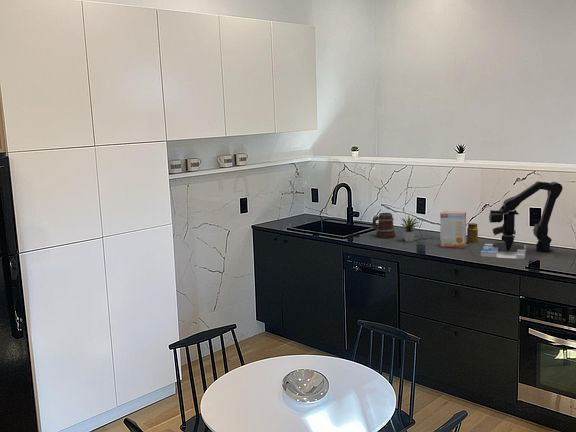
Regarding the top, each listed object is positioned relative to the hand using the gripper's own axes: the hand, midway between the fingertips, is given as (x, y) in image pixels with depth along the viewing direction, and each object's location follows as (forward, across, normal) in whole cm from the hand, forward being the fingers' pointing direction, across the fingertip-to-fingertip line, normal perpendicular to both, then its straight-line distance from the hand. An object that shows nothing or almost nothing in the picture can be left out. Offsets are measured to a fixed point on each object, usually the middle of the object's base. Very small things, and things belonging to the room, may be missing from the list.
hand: (508, 249), depth 332 cm
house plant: (+2, -15, -59) cm, 61 cm away
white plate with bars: (+2, +5, -2) cm, 6 cm away
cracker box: (+2, -7, -31) cm, 32 cm away
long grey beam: (+1, 0, 0) cm, 1 cm away
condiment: (+2, -17, -22) cm, 28 cm away
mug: (+2, -25, -78) cm, 82 cm away
